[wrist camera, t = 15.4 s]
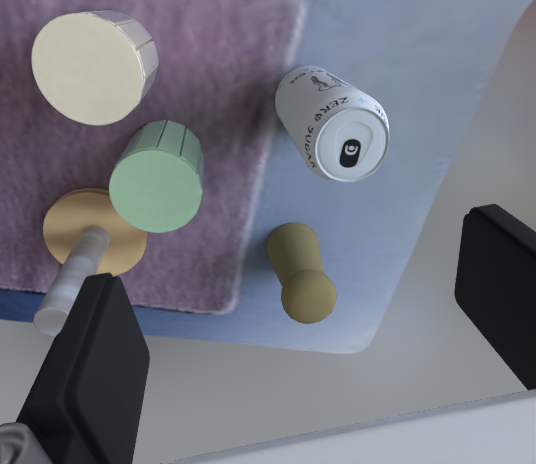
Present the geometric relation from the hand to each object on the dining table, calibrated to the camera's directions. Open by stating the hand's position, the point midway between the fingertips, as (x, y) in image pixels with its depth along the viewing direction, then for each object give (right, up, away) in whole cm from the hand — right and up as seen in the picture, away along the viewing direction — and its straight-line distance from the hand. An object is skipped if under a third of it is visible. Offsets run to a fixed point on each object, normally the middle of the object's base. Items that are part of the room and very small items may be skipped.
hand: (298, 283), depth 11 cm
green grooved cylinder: (-11, +9, +29) cm, 32 cm away
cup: (-14, +16, +24) cm, 32 cm away
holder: (-19, +1, +32) cm, 37 cm away
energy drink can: (+3, +14, +28) cm, 31 cm away
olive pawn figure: (+2, 0, +35) cm, 35 cm away
